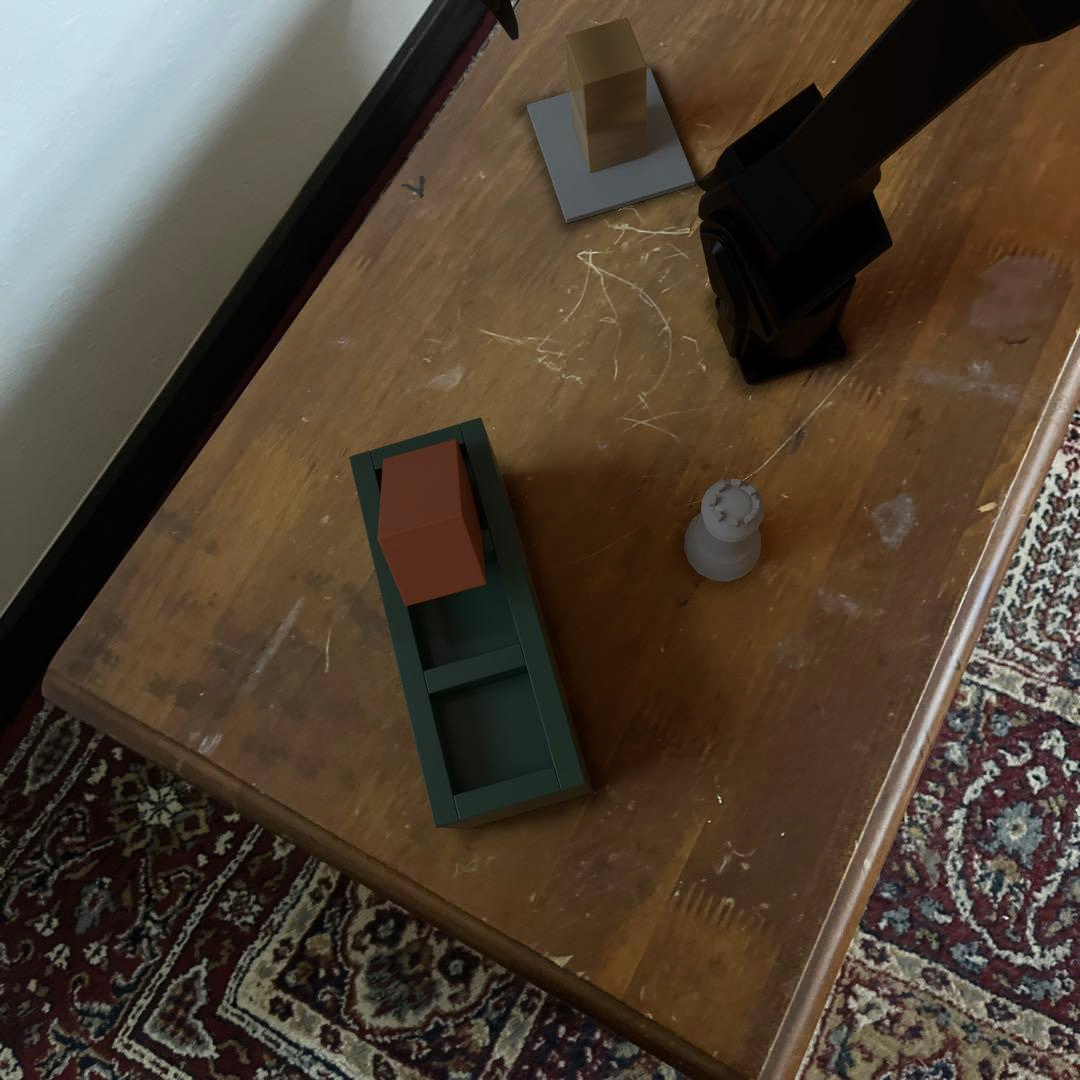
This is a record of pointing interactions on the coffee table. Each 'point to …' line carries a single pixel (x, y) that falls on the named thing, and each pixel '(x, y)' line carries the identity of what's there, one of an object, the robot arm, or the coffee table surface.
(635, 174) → the mat
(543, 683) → the rack
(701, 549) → the rook chess piece
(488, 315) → the coffee table surface
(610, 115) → the maple peg
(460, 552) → the terracotta peg
